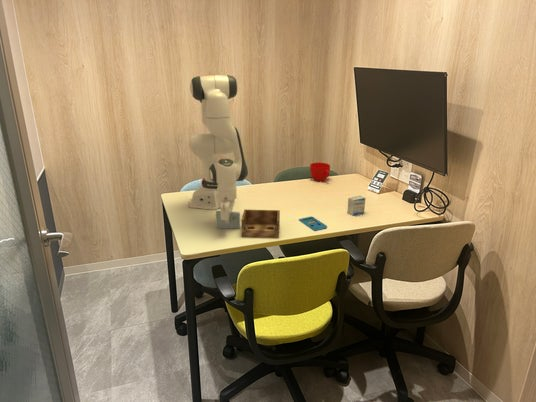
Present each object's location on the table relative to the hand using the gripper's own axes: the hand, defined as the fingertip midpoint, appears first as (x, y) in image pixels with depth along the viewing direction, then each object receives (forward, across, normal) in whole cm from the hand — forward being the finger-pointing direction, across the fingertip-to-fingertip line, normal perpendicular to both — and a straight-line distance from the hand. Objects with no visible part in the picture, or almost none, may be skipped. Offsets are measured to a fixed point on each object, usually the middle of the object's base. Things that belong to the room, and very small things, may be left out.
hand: (228, 221), depth 188 cm
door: (+3, 0, 0) cm, 3 cm away
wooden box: (+3, -2, -16) cm, 16 cm away
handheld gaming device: (+4, +7, -41) cm, 42 cm away
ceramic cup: (+4, +76, -50) cm, 91 cm away
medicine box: (+4, +22, -64) cm, 68 cm away
